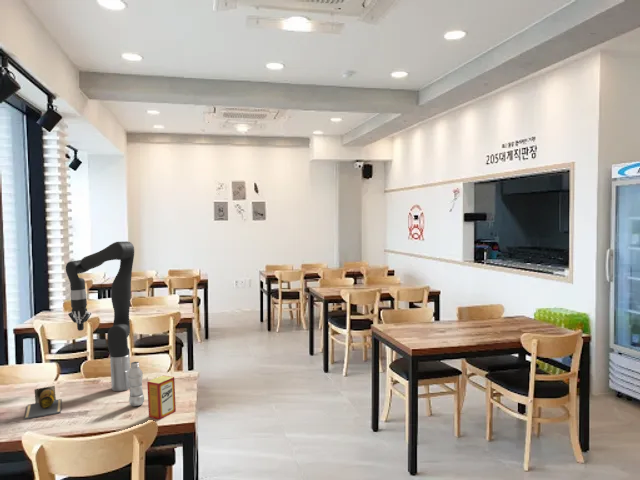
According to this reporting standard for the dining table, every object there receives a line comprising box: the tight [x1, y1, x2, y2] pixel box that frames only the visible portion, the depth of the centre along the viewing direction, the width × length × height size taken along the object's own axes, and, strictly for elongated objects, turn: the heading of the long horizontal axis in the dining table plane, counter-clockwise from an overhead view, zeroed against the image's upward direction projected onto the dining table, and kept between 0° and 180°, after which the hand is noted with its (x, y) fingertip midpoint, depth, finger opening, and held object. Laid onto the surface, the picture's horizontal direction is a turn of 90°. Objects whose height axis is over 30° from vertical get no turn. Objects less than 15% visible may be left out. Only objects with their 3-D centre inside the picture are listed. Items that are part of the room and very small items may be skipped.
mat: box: [24, 398, 62, 420], centre depth 225 cm, size 18×14×1 cm
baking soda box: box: [146, 375, 177, 420], centre depth 215 cm, size 10×6×16 cm
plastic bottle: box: [128, 361, 145, 407], centre depth 226 cm, size 6×7×20 cm
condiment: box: [33, 385, 57, 408], centre depth 228 cm, size 7×8×12 cm
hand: (80, 330), depth 260 cm, fingers closed
